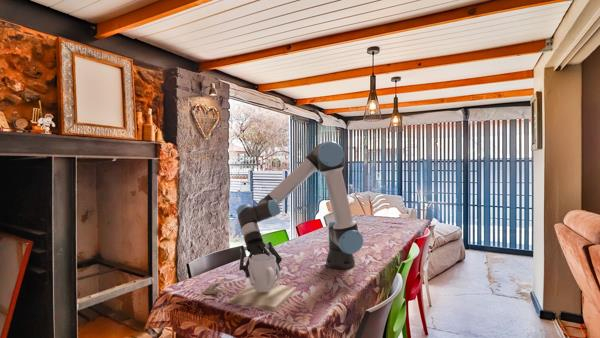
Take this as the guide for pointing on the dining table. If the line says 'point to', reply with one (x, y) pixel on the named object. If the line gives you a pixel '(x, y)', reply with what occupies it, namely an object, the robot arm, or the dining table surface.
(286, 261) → the dining table surface
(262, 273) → the mug
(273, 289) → the board
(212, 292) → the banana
